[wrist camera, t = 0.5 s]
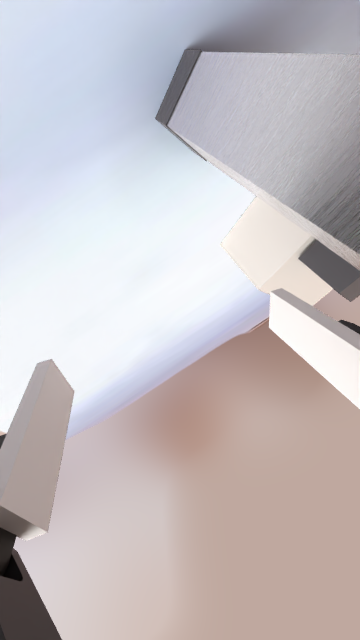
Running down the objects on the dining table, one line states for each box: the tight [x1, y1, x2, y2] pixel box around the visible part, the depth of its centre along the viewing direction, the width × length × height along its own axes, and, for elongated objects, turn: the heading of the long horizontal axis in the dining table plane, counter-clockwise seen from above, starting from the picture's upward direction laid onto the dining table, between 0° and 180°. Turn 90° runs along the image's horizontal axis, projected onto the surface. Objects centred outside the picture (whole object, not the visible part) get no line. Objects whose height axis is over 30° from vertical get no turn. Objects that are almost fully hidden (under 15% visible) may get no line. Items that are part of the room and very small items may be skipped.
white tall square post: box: [155, 50, 360, 271], centre depth 10 cm, size 4×4×18 cm
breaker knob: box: [298, 240, 360, 302], centre depth 17 cm, size 3×6×4 cm, turn 144°
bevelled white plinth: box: [220, 196, 333, 306], centre depth 23 cm, size 11×14×8 cm
